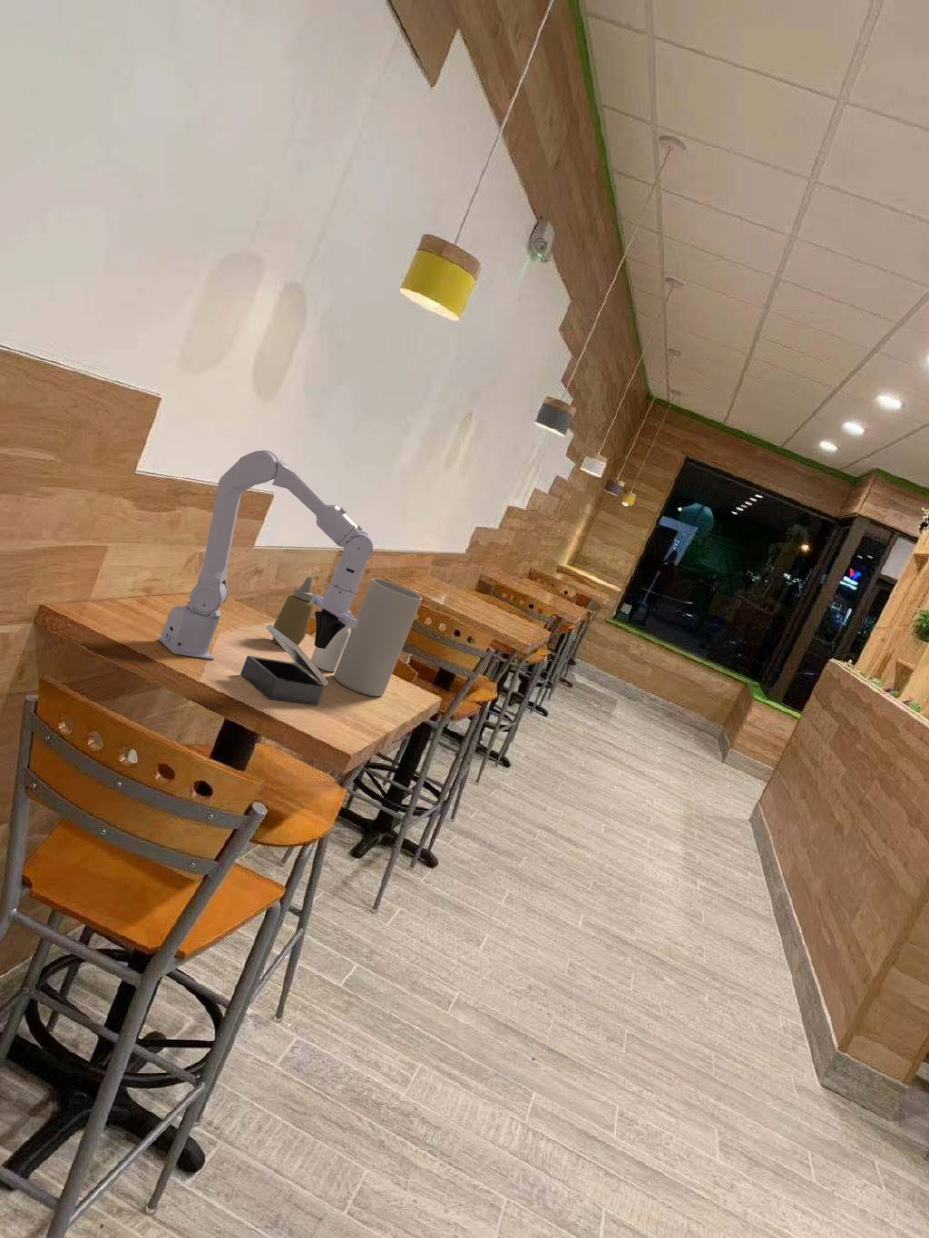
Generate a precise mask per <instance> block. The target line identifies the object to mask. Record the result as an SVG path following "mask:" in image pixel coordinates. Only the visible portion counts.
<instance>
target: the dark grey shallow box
mask: <svg viewBox="0 0 929 1238" xmlns="http://www.w3.org/2000/svg"><path fill="white" fill-rule="evenodd" d="M239 676H241V677H242V678H244V679H245V680H246V681H247V682H248V683H249V684H251V685H252V686H253V687H254V688H255V689H256V690H258V692H260V694H262V695H263V696H264V697H265V698H266V699H268V700H270V701H278V702H283V703H284V702H285V703H291V704H292V703H293V704H302V705H309V706H318V704H319V702H320V700H321V698H322V695H323V692H324V689H325V686H324V685H323V684H322V683H321V682H319V681H318V680H317V679H316V678H314V677H313V676H312V675H310V674H309V673H308V672H307V671H305V670H304V669H303V668H302V667H300V666H299V665H298V664H296V663H295V662H290V661H283V660H276V659H272V658H271V659H270V658H265V657H258V656H253V655H247V656H246V659H245V661H244V665H243V666H242V669H241V672H240V675H239Z"/></svg>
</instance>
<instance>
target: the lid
mask: <svg viewBox="0 0 929 1238" xmlns="http://www.w3.org/2000/svg"><path fill="white" fill-rule="evenodd" d="M266 629H267V631H268V632H269V633H270V634H271V635H272V637H273V636H274V638H275V639H276V640H277V641H278V642H279V644H280V645H281V646H280V645H279V646H280V647H282V649H283V650H284V651H285V652H286V654H288V656H289V658H291V660H293V663H295V664H296V665H298V666H299V667H300V668H301V669H303V670H304V671H305V672H306V673H308V674H309V675H310V676H312V677H313V678H314V679H315V680H317V681H318V682H319V683H320V684H322V685H323V686H324V687H325V686H327V684H329V681H328V680H327V679H326V677H325V676H324V675H323V674H322V673H321V671H320V669H319V668H317V667H316V666H315V665H314V664H313V663H312V662H311V658H309V656H308V655H307V654H306V653H305V652H304V650H303V649H302V648H301V647H300V646H299V645H297V644H296V643H295V642H294V641H292V640H291V639H290V638H288V637H287V636H286V635H285V634H283V633H282V632H281V631H279V630H278V629H277V628H274V625H271V624H269V625H267V626H266Z"/></svg>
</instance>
